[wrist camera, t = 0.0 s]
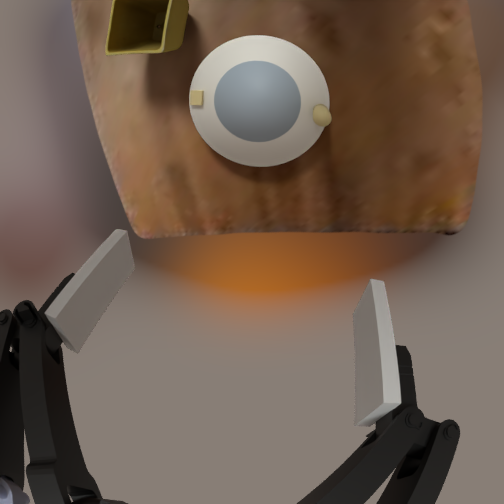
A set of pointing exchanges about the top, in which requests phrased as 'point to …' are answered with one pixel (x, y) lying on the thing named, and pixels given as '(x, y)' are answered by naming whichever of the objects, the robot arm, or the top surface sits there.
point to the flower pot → (146, 26)
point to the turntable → (259, 101)
